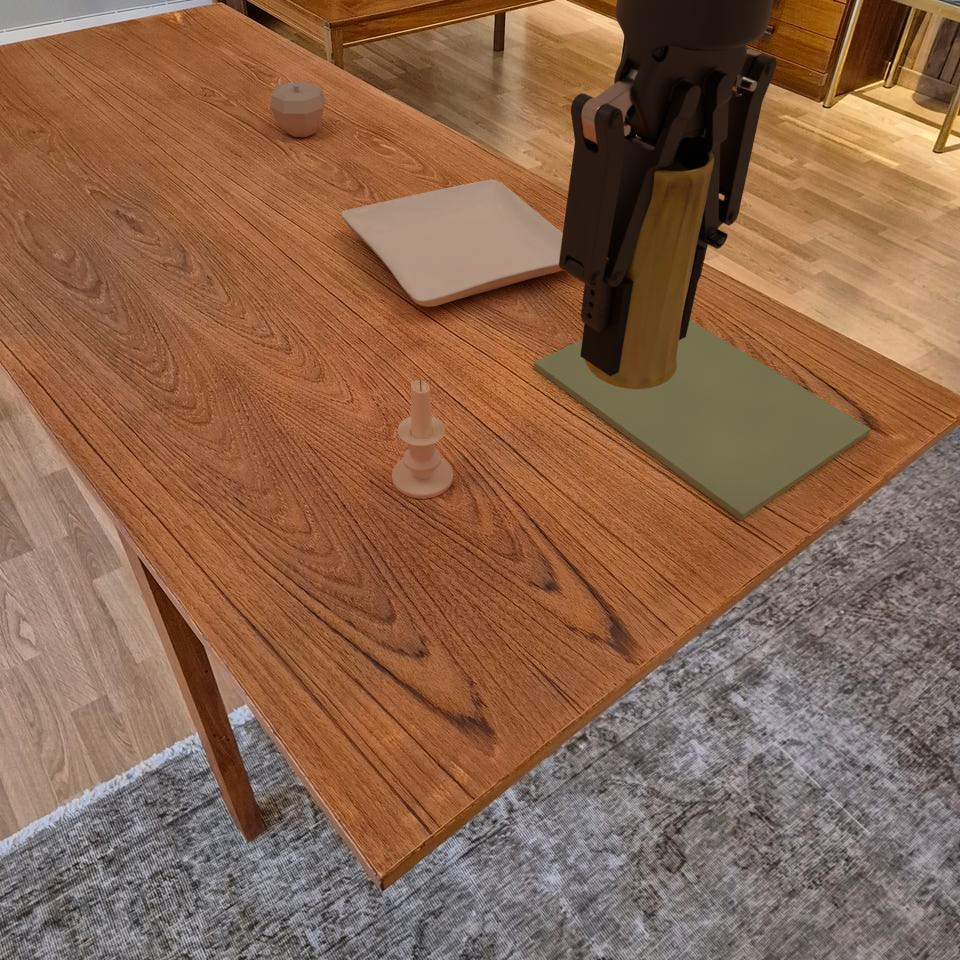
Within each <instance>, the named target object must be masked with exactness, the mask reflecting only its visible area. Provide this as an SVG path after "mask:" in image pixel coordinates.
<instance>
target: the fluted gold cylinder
mask: <svg viewBox="0 0 960 960" xmlns="http://www.w3.org/2000/svg"><path fill="white" fill-rule="evenodd" d="M636 137H637V139H638V140H640V141H642V142H644V143H646V144H648V145H651V146H653V147H656V144H653V143H651V142H649V141H646V140H644V139H642V138H640V137H638V136H637V135H636ZM706 155H707V158H706V162H705V163H704V164H703V165H702V166H700V167H698V168H697V169H693V170H689V169H687V168H685V167H684V166H683V165H682V164H681V163H680V161H679V160H678V158H677V156H676V154H675V157H674V160H673V162H672V164H671V165H670V166H669V167H668V168H664V169H663V170H657V171H656V172H655V174H654V186H653V193H652V199H651V202H650V205H649V207H648V210H647V213H646V216H645V219H644V222H643V225H642V227H641V230H640V233H639V236H638V239H637V242H636V245H635V247H634V250H633V253H632V256H631V259H630V262H629V265H628V267H627V270H626V273H625V277H627V278H628V279H630V280H632V281H634V282H633V288H632V294H631V300H630V307H629V313H628V319H627V325H626V331H625V337H624V343H623V349H622V356H621V362H620V368H619V372H618V373H616V374H614V375H612V376H611V377H610V376H609V375H607V374H606V373H604V372H603V371H601V370H600V369H598V368H597V367H595V366H594V365H592V364H591V363H589V362H588V361H586V360H585V362H586V364H587V366H588V368H589V369H590V371H591V372H592V373H593V374H594V375H595V376H596V377H598V378H599V379H601V380H602V381H604V382H606V383H608V384H611V385H614V386H617V387H621V388H627V389H647V388H652V387H656V386H659V385H661V384H663V383H665V382H667V381H668V380H669V379H670V378H671V377H672V376H673V375H674V374H675V372H676V369H677V358H676V357H677V349H678V342H679V335H680V327H681V321H682V315H683V310H684V304H685V300H686V295H687V291H688V286H689V282H690V277H691V271H692V266H693V261H694V256H695V250H696V245H697V240H698V236H699V231H700V226H701V222H702V217H703V213H704V208H705V203H706V198H707V193H708V188H709V183H710V178H711V173H712V169H713V163H714V156H713V153H712V152H711V151H709V152H707V153H706ZM607 259H608V258H607ZM608 260H609V259H608Z"/></svg>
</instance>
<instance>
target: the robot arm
mask: <svg viewBox="0 0 960 960" xmlns="http://www.w3.org/2000/svg"><path fill="white" fill-rule="evenodd" d="M774 1H775V0H616V3H615V4H616V5H615V19H616V21H617V23H618V25H619V27H620V29H621V31H622V34H623V37H624V43H625V46H624V51H623V54H622V57H621V59H620V62H619V65H618V66H617V69H616V71H615V74H614V80H613V84H612V85H611V86H610V87H608V88H607V89H605V90H604V91H603V92H601V93H600V94H598V95H597V96H596V97H594V96H592V95H588V94H586V93H583V92H581V93H579V94H577V95H576V96H575V97H574V99H573V101H572V103H571V106H570V116H571V122H572V130H573V137H574V145H573V152H572V161H571V168H570V176H569V182H568V190H567V191H568V192H567V199H566V206H565V214H564V221H563V229H562V233H563V236H562V243H561V251H560V258H559V267H560V268H561V269H562V270H561V271H564V272H566V273H567V274H568V275H570V276H572V277H574V278H575V279H576V280H578V281H580V282H582V283H583V284H584V285H583V292H582V293H583V295H582V303H581V309H580V319H581V322H582V323H584V324H583V330H582V331H583V332H582V339H581V340H582V347H581V355H580V356H581V357H582V358H584V359H585V360H586V361H588V362H589V363H591V364H592V365H594V366H595V367H597V368H598V369H600V370H601V371H603V372H604V373H606V374H607V375H609V376H610V377H611V376H612V375H614V374H616V373H618V372H619V368H620V362H621V356H622V349H623V343H624V337H625V331H626V325H627V319H628V313H629V307H630V300H631V294H632V288H633V282H634V281H632V280H630V279H628V278H627V277H625V273H626V270H627V267H628V265H629V262H630V259H631V256H632V253H633V250H634V247H635V245H636V242H637V239H638V236H639V233H640V230H641V227H642V225H643V222H644V219H645V216H646V213H647V210H648V207H649V205H650V202H651V199H652V193H653V186H654V174H655V172H656V171H657V170H663V169H664V168H668V167H669V166H670V165H671V164H672V162H673V160H674V157H675V154H676V156H677V158H678V160H679V161H680V163H681V164H682V165H683V166H684V167H685V168H687V169H689V170H693V169H697V168H698V167H700V166H702V165H703V164H704V163H705V162H706V158H707V155H706V153H707V152H709V151H711V152H712V153H713V156H714V163H713V169H712V173H711V178H710V183H709V188H708V193H707V198H706V203H705V208H704V213H703V217H702V222H701V226H700V231H699V236H698V240H697V245H696V250H695V256H694V261H693V266H692V271H691V277H690V282H689V286H688V291H687V295H686V300H685V304H684V310H683V315H682V321H681V327H680V335H679V340H681V339H683V338H685V337H686V334H687V330H688V325H689V321H690V320H691V316H692V311H693V306H694V302H695V298H696V293H697V288H698V284H699V281H700V279H701V277H702V273H703V267H704V264H705V263H704V262H705V259H706V255H707V250H708V247H709V246H710V247H712V248H714V249H716V250H719V249H721V248H722V247H723V246H724V244H725V243H726V241H727V239H728V237H729V234H728V233H727V232H725V231H723V230H720V229H719V228H720V227H721V226H722V225H723V224H724V225H726V226H731V225H733V224H734V223H735V222H736V221H737V220H738V217H739V213H740V209H741V205H742V200H743V195H744V190H745V186H746V182H747V181H746V180H747V178H748V177H747V176H748V171H749V167H750V162H751V158H752V152H753V149H754V143H755V138H756V134H757V129H758V125H759V119H760V115H761V110H762V106H763V101H764V99H765V97H766V94H767V91H768V89H769V86H770V84H771V81H772V79H773V76H774V74H775V72H776V70H777V69H776V68H777V63H778V62H777V58H776V57H774V56H771V55H769V54H765V53H763V52H760V51H757V50H754V49H751V48H748V47H747V46H749V45H751V44H753V43H755V42H757V41H758V40H759V39H760V38H761V37H763V35H764V34H765V32H766V31H767V30H768V26H769V22H770V19H771V13H772V9H773V6H774ZM636 136H638V137H640V138H642V139H644V140H646V141H649V142H651V143H653V144H656V147H653V146H651V145H648V144H646V143H644V142H642V141H640V140H638V139H637V137H636ZM720 195H722V196H723V199H722V198H720ZM607 258H608V259H609V260H608V259H607Z"/></svg>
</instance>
